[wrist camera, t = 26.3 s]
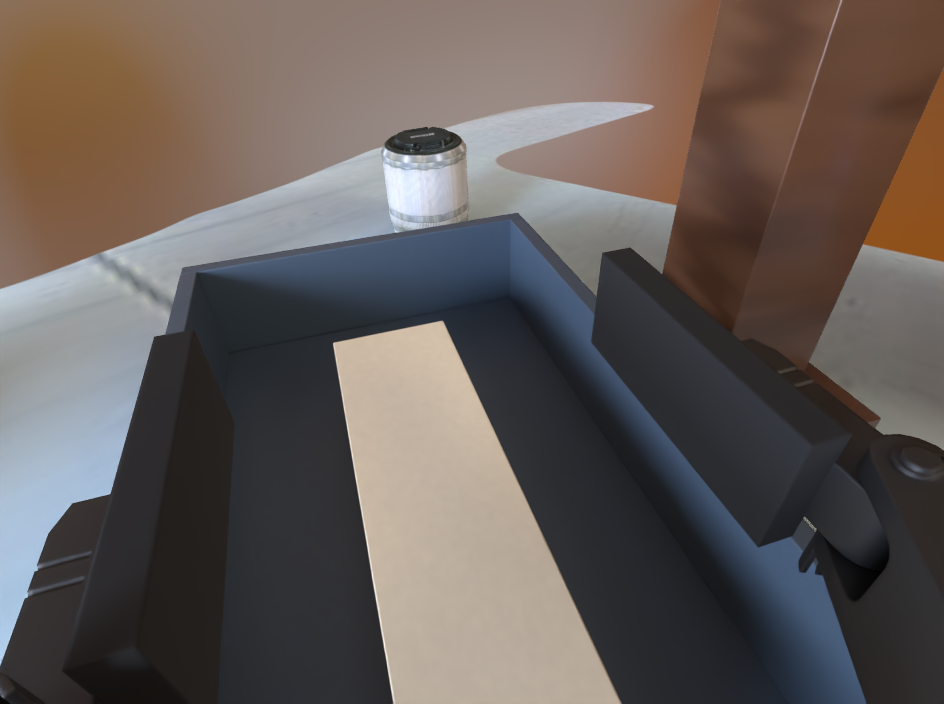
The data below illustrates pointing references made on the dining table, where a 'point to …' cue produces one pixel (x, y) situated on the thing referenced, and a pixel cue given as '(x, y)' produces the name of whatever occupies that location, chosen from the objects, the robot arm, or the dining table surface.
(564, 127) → the dining table surface
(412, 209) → the camera lens
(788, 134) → the stand
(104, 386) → the dining table surface
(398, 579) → the carton
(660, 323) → the robot arm
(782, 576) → the bin
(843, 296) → the dining table surface
